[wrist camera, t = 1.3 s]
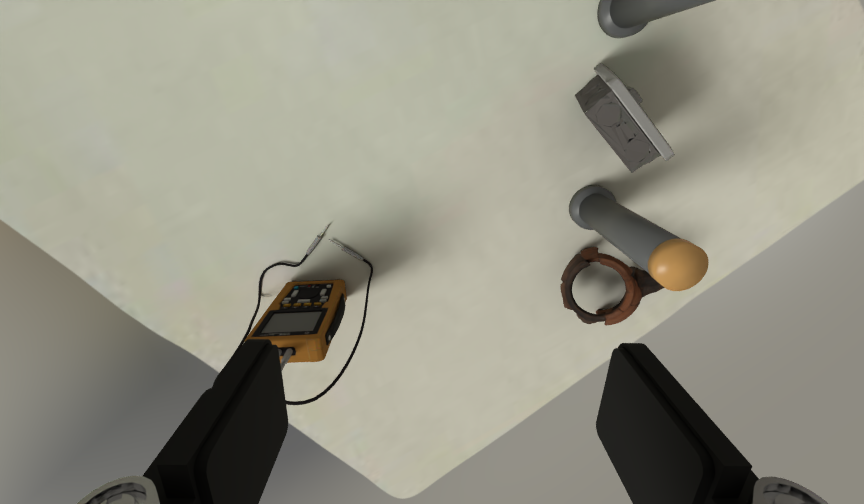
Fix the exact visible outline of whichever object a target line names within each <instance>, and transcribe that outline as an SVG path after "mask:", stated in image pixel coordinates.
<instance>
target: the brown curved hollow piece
mask: <svg viewBox="0 0 864 504" xmlns="http://www.w3.org/2000/svg"><path fill="white" fill-rule="evenodd" d="M590 262H600V264H602V265H606V266H609V267H611V268H613V269H615V270H616V271H617V272H618V273H619V274H620V275H621V276H622V278H623V280H624V281H625V285H626V292H625V295H624V297H623V299H622V300H621V301H620V302H619V303H618V304H617V305H616V306H614V307H612V308H609V309H605V310H597V311H596V314H592V313H589V312H587V311H585V310H583V309H582V308H580V307H579V306H578V305H577V303H576V302H575V300H574V298H573V294H572V285H573V281H574V279H575V277H576V275H577V274H578V273H579V272H580V271H581V270H582V269H584V268H586V267H588V266H590ZM561 280H562V281H563V283H562V284H561V293H562V297H563V302H564V303H563V304H564V307H565V308H567V309H570V310H574V312H576V313H577V316H578V318H579V319H581V320H582V322H584V323H587V324H592V323H596V322H602V321H605V325H612V324H616V323H619V322H621V321H623V320H625V319H626V318H627V317H629V316H630V315H631V314H632V313H633V312H634V311H635V310H636V309H637V307H638V305H639V304H640V301H641V299H642V297H644V296H645V295H648V294H651V293H654V292H657V291H659V290H660V289H662V288H665V287H663V286H662V285H661V284H660V283H658V282H657V281H656V280H655V279H653V278H652V277H651V275H650V274H649V273H648V272H647V271H645V270H640V269H638V268H635V267H632V266H631V267H628V266H627V265H626V264H624V263H623V262H622V261H620V260H618V259H616V258H614V257H612V256H610V255H607V254H602V253H598V248H597V247H591V248H586V249H584V250H583V251H581V254H577V255H575V257H574V258H573V259H572V260H571V261H570V263H569V264H568V265H567V267H566V269H565V270H564V273H563V275H562V278H561Z"/></svg>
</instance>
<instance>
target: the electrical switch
mask: <svg viewBox="0 0 864 504" xmlns="http://www.w3.org/2000/svg"><path fill="white" fill-rule="evenodd" d="M594 70H595V72H596V73H597V74H598V75H597V76H596V77H595V78H593V79H592V80H591V81H590V82H589V83H588V84H587V85H586V86H585V87H584V88H583V89H582V90H580V91H579V92H578V93H577V94H576V95H575V96H576V98H577V100H578V102H579V104H580V106H581V108H582V110H583V112H584V113H585V112H586V111H587V110H588V111H587V112H586V113H585V115H586V116H587V117H588V119H589V120H590V121H591V122H592V124H593V125H594V126H595V127H596V129H597V130H598V131H599V132H600V134H601V135H602V136H603V138H604V139H605V140H606V141H607V143H608V144H609V145H610V146H611V148H612V149H613V150H614V151H615V153H616V154H617V155H618V156H619V158H620V159H621V160H622V161H623V163H624V164H625V165H626V166H627V168H628V169H629V170H630V171H631V173H632V172H634V171H635V170H637V169H638V168H640V167H641V166H643V165H644V164H647V163H649V162H651V161H652V160H654V159H655V158H657V157H659V156H662V157H663V158H664V159H665V161H667V160H669V159H670V158H671V157H673V156H674V155H675V154H674V152H673V151H672V149H671V147H670V146H669V144H668V143H667V142H666V140H665V139H664V138H663V136H662V135H661V133H660V132H659V131H658V129H657V128H656V127H655V125H654V124H653V123H652V121H651V120H650V119H649V117H648V116H647V114H646V113H645V112H644V111H643V109H642V108H641V106H640V105H639V104H640V103H641V102H642V98H641V97H640V95H639V94H638V92H637V91H636V90H635V89H634V88H629V87H626V86H625V85H624V84H623V82H622V81H621V80H620V79H619V78H618V76H617V75H616V74H615V73H613V72H612V71H611V70H610V69H609V68H608V67H606V66H605V65H604V64H602V63H600V64H599V65H597V66H596V67H595V68H594Z"/></svg>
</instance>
